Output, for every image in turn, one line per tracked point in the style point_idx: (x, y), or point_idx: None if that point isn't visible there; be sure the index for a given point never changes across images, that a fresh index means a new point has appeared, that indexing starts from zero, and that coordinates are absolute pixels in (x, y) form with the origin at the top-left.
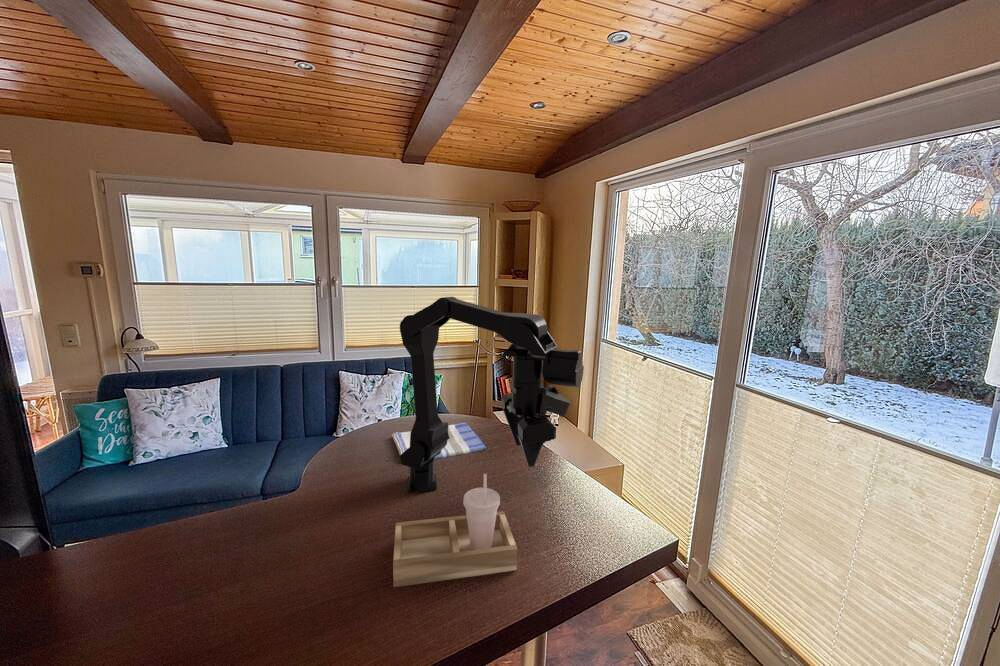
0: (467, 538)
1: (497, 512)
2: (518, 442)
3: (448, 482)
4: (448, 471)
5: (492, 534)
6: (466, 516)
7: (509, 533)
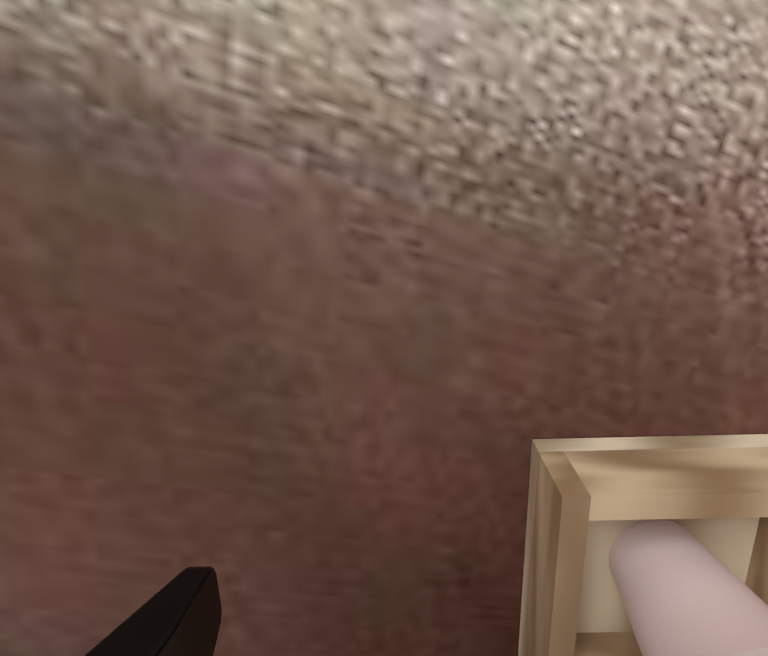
0: (585, 594)
1: (565, 527)
2: (204, 631)
3: (123, 611)
4: (16, 606)
5: (737, 578)
6: (557, 653)
7: (748, 503)
